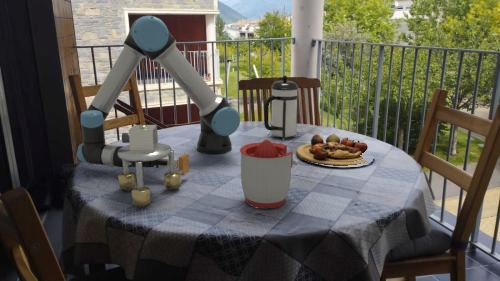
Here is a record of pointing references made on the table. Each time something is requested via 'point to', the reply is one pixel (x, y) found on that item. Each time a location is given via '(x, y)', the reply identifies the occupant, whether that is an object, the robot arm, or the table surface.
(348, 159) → the wooden plate with food
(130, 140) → the tribrach stand
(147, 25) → the robot arm
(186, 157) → the lever
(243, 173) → the citrus juicer
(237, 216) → the table surface
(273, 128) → the coffee press
